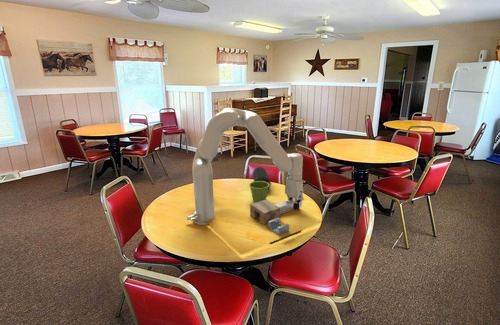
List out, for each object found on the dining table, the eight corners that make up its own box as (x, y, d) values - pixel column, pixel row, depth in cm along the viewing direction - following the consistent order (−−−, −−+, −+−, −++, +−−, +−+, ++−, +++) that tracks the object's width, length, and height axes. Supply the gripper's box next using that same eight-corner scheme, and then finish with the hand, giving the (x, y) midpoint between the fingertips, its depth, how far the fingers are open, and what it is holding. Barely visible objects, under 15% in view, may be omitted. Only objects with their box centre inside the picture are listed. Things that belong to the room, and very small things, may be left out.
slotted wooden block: (263, 227, 141) (263, 213, 139) (250, 218, 150) (250, 204, 148) (279, 221, 146) (280, 207, 144) (265, 212, 156) (265, 199, 153)
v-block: (271, 244, 127) (271, 234, 125) (255, 232, 136) (255, 223, 135) (301, 232, 136) (301, 222, 135) (284, 221, 146) (284, 213, 144)
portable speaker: (271, 192, 183) (271, 178, 180) (255, 193, 182) (255, 178, 179) (266, 178, 207) (266, 165, 204) (252, 179, 206) (252, 166, 204)
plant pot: (269, 198, 174) (269, 181, 170) (269, 207, 162) (269, 188, 159) (250, 198, 175) (250, 180, 172) (248, 206, 164) (247, 188, 160)
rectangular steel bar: (276, 215, 149) (276, 208, 148) (271, 212, 152) (271, 205, 151) (301, 207, 159) (302, 200, 158) (296, 204, 162) (297, 197, 161)
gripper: (279, 173, 158) (278, 204, 163) (300, 182, 144) (299, 215, 150) (289, 171, 162) (288, 200, 167) (311, 179, 148) (309, 211, 154)
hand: (293, 207), depth 158 cm, fingers closed on rectangular steel bar, 4 cm apart
